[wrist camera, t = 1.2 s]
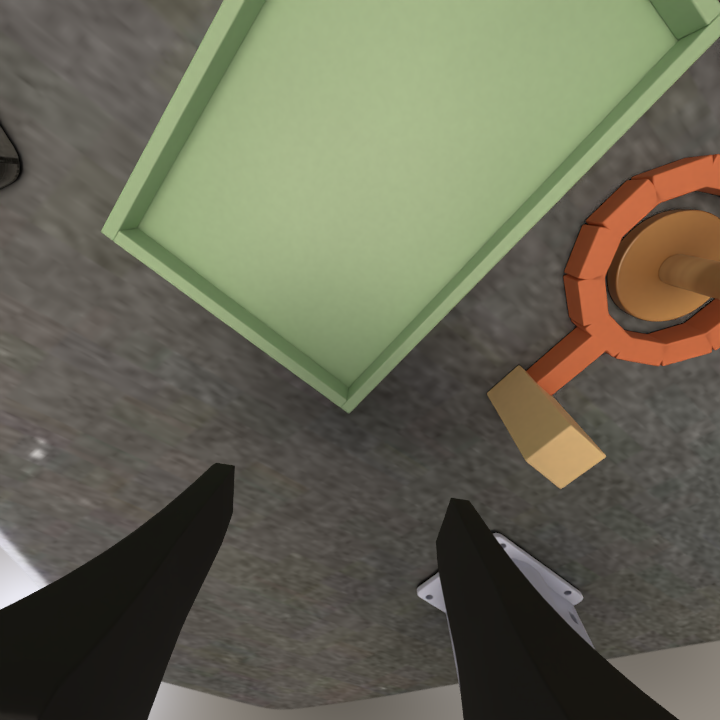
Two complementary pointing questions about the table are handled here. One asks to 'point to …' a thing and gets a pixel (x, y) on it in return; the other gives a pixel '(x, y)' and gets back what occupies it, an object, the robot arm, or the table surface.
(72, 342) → the table surface
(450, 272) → the tray
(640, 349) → the ring
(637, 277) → the peg stand
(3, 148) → the phone
